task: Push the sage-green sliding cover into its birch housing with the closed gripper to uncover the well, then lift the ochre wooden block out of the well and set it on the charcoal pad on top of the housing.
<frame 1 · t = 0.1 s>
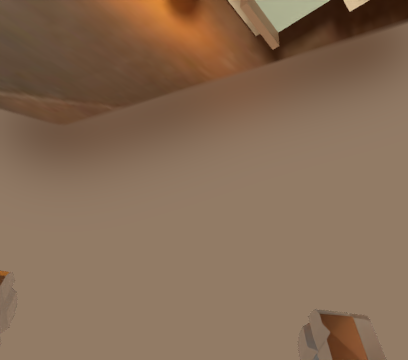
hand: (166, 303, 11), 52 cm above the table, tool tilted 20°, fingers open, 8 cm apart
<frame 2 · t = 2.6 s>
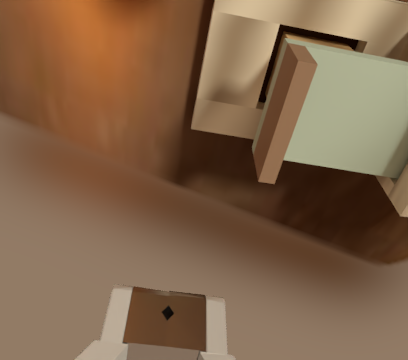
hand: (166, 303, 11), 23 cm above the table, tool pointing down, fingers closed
cover: (383, 130, 23), point 9 cm above the table, slide at 0.0 cm
beige stepped box: (358, 80, 31), on the table
block: (304, 69, 30), resting in beige stepped box
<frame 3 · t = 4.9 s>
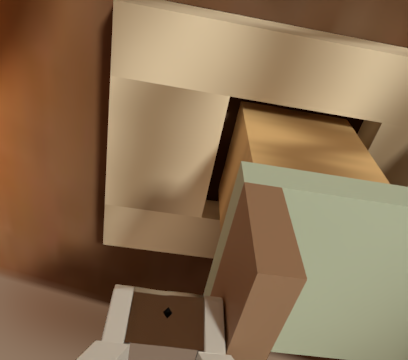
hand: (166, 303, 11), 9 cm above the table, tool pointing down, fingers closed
beige stepped box: (365, 170, 19), on the table
block: (278, 155, 19), resting in beige stepped box
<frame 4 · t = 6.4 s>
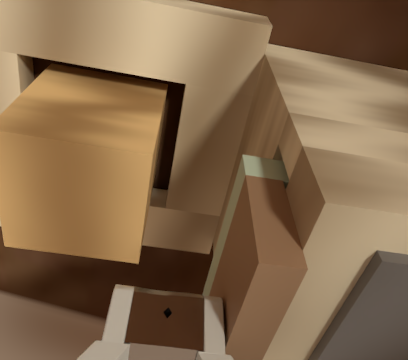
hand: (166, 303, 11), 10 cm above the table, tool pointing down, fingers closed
beige stepped box: (202, 140, 18), on the table
block: (108, 124, 18), resting in beige stepped box
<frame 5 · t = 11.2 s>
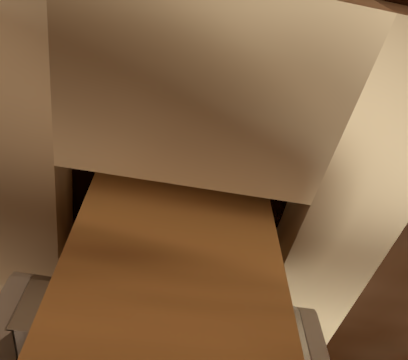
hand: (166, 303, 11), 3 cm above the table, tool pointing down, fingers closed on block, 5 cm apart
beige stepped box: (157, 317, 15), on the table
block: (173, 236, 13), resting in beige stepped box, touching gripper
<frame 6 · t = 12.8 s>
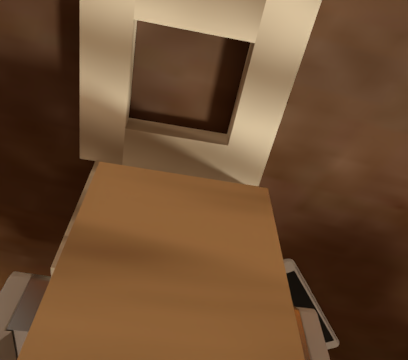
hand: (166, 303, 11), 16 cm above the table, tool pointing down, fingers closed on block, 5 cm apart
smartphone: (281, 311, 38), on the table
beige stepped box: (175, 142, 26), on the table
block: (173, 235, 13), point 13 cm above the table, touching gripper
when the fingers open (15 cm above the table, at t = 14.6 s): block drops 1 cm, resting on beige stepped box.
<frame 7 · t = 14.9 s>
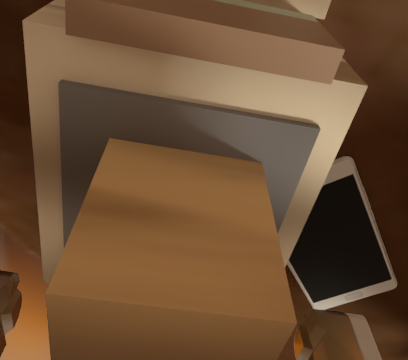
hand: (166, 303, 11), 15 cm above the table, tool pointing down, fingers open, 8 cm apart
smartphone: (328, 239, 31), on the table
cover: (176, 188, 16), point 9 cm above the table, slide at 9.0 cm, touching beige stepped box
block: (176, 208, 14), point 11 cm above the table, touching beige stepped box
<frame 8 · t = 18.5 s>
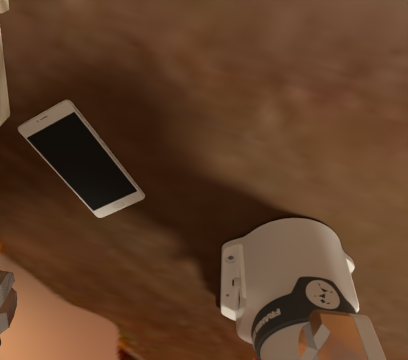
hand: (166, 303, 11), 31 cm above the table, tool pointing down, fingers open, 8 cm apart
smartphone: (86, 161, 46), on the table
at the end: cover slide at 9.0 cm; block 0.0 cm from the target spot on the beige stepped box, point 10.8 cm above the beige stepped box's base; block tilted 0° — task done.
